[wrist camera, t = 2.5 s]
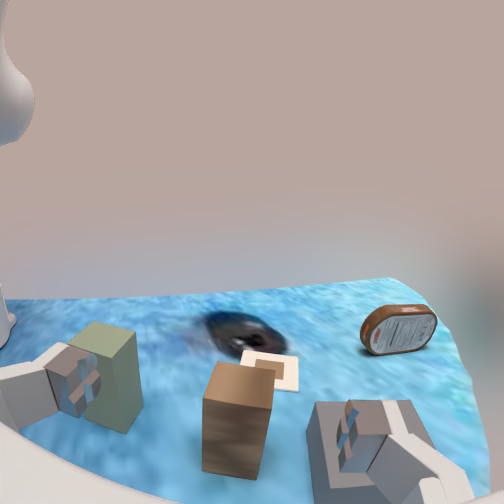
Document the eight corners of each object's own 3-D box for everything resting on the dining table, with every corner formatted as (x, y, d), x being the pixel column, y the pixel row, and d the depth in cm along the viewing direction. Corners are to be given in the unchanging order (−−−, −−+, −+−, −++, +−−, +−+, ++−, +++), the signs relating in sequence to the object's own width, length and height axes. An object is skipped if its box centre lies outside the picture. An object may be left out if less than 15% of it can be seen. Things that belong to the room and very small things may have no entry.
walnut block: (202, 471, 23) (202, 397, 21) (213, 435, 28) (217, 361, 26) (256, 480, 23) (271, 409, 20) (261, 443, 28) (275, 370, 25)
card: (234, 384, 37) (235, 381, 37) (243, 351, 45) (244, 349, 45) (297, 392, 36) (298, 390, 36) (297, 358, 44) (298, 356, 44)
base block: (314, 514, 19) (330, 488, 18) (305, 433, 30) (315, 401, 28) (422, 500, 19) (446, 471, 18) (394, 430, 30) (409, 399, 28)
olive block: (85, 419, 26) (66, 343, 24) (106, 393, 31) (94, 320, 29) (125, 434, 26) (111, 358, 23) (143, 405, 31) (135, 331, 28)
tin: (421, 342, 50) (434, 301, 48) (430, 351, 47) (445, 308, 45) (353, 350, 47) (365, 303, 45) (361, 360, 44) (375, 312, 42)
